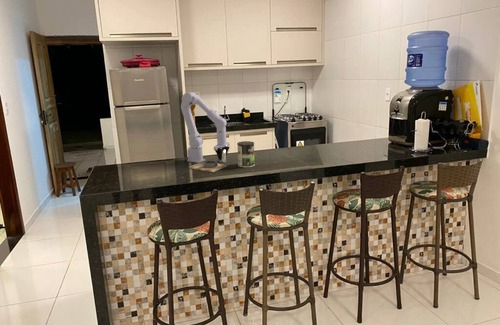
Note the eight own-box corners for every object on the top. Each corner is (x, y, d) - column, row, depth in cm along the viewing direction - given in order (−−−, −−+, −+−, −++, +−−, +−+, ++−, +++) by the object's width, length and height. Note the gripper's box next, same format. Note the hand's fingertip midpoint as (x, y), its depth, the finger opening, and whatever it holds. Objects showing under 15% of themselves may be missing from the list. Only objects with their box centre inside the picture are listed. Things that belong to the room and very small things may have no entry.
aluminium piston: (217, 162, 234) (217, 149, 232) (221, 160, 238) (221, 148, 236) (223, 163, 232) (222, 150, 230) (227, 161, 235) (227, 149, 233)
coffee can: (257, 164, 227) (257, 142, 223) (249, 168, 218) (248, 145, 215) (243, 162, 232) (243, 140, 228) (234, 166, 224) (233, 143, 220)
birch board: (189, 168, 221) (188, 166, 221) (203, 162, 233) (203, 161, 233) (212, 172, 212) (212, 170, 212) (226, 166, 223) (226, 164, 223)
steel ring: (200, 167, 220) (200, 163, 219) (209, 163, 227) (209, 159, 226) (211, 168, 215) (211, 164, 215) (220, 165, 222) (220, 161, 222)
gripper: (219, 140, 223) (220, 162, 226) (233, 136, 234) (234, 156, 238) (210, 139, 226) (211, 160, 230) (224, 135, 238) (225, 155, 242)
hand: (222, 158), depth 234 cm, fingers closed on aluminium piston, 4 cm apart
